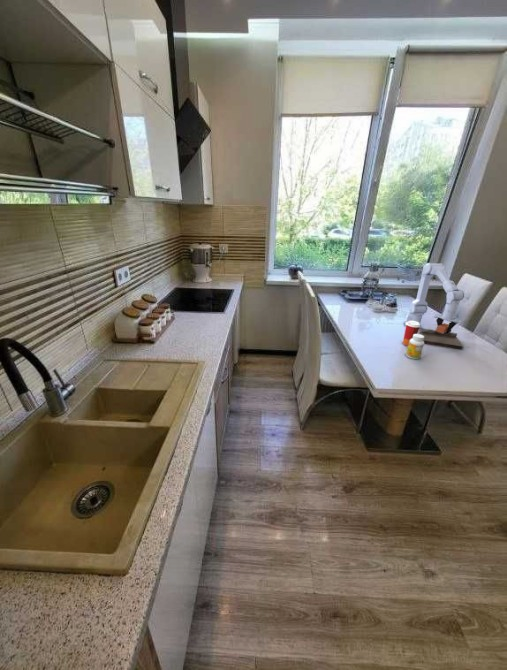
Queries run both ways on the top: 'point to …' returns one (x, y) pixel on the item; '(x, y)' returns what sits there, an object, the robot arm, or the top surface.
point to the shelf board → (440, 339)
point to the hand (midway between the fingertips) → (443, 331)
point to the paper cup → (410, 331)
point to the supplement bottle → (415, 346)
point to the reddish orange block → (442, 329)
